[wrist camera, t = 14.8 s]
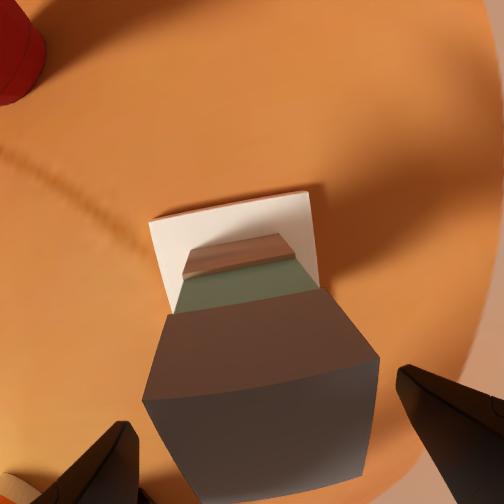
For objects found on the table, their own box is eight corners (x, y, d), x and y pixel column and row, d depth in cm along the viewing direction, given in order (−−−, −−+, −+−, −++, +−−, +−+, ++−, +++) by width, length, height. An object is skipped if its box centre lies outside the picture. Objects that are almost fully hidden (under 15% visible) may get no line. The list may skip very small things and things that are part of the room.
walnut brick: (290, 312, 19) (306, 347, 15) (209, 327, 18) (208, 366, 15) (278, 233, 17) (295, 252, 13) (190, 250, 17) (181, 274, 13)
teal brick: (306, 351, 15) (330, 403, 11) (209, 370, 15) (208, 427, 11) (296, 258, 14) (324, 294, 10) (183, 279, 13) (170, 324, 9)
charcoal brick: (328, 399, 11) (362, 475, 7) (204, 421, 11) (202, 505, 7) (324, 287, 10) (379, 357, 6) (167, 314, 9) (141, 400, 6)
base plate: (318, 323, 20) (323, 331, 19) (188, 348, 20) (187, 358, 19) (303, 190, 18) (308, 191, 17) (152, 218, 18) (148, 222, 16)
